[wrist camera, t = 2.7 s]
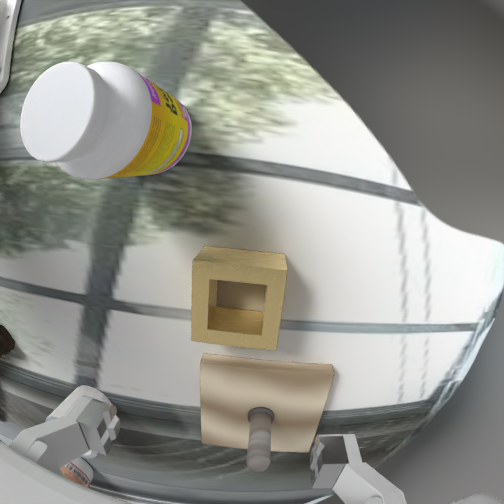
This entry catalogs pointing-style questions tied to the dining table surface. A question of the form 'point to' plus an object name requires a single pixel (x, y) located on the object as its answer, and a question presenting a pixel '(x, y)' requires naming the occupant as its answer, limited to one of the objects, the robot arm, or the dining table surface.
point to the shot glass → (72, 400)
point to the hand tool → (5, 341)
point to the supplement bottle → (103, 122)
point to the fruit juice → (78, 472)
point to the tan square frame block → (237, 320)
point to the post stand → (261, 405)
